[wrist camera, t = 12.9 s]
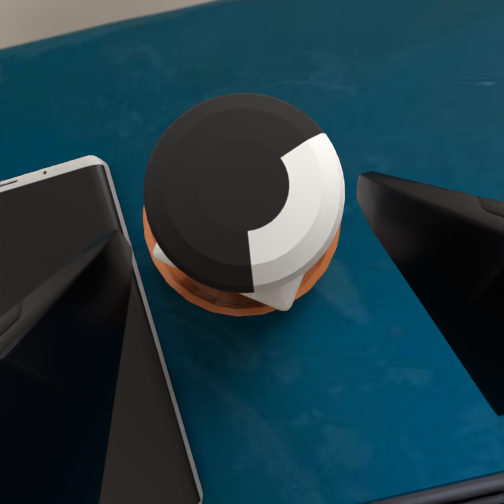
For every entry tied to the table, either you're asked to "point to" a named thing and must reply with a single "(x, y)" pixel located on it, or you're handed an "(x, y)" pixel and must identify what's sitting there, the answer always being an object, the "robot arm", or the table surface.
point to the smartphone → (136, 331)
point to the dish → (229, 300)
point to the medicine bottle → (244, 196)
